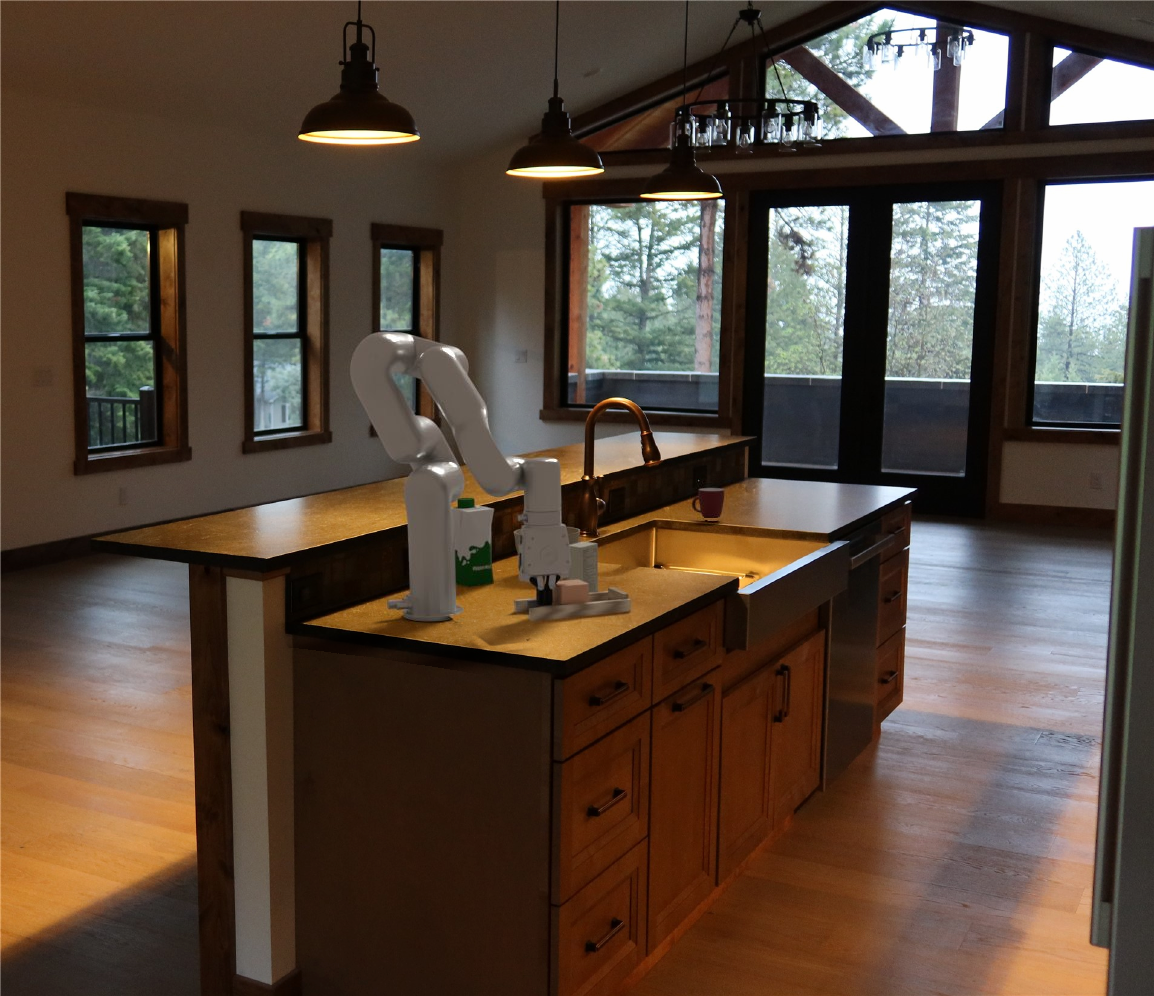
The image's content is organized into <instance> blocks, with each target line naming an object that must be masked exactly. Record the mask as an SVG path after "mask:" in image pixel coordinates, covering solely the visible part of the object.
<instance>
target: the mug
mask: <svg viewBox="0 0 1154 996" xmlns="http://www.w3.org/2000/svg"><path fill="white" fill-rule="evenodd" d="M697 501H698V502H699V509H698V508H697V505H696V503H697ZM724 501H725V489H724V488H718V487H705V488H698V496H696V497H694V498H693V499H692V502H691V507H692V509H693V511H695V512H697V513H700V514H701V516H702V517H704V518H718V517H719V518H720V517H721V515H722V513H723V508H724V503H725V502H724ZM704 518H703V519H704Z"/></svg>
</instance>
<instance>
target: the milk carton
mask: <svg viewBox="0 0 1154 996" xmlns="http://www.w3.org/2000/svg"><path fill="white" fill-rule="evenodd" d="M456 501H457V506H455V507H451V509H452V515H453V521H454V537H455V575H456V585H459V586H462V587H467V588H475V587H480V586H488V585H492V584H494V583H495V581H494V572H493V571H494V570H493V562H492V558H493V557H492V523H493V517H494V512H495V508H491V507H488V506H482V505H475V504H476V502H475V498H474V497H461V498H460V497H459V498H458V499H457V500H456Z"/></svg>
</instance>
